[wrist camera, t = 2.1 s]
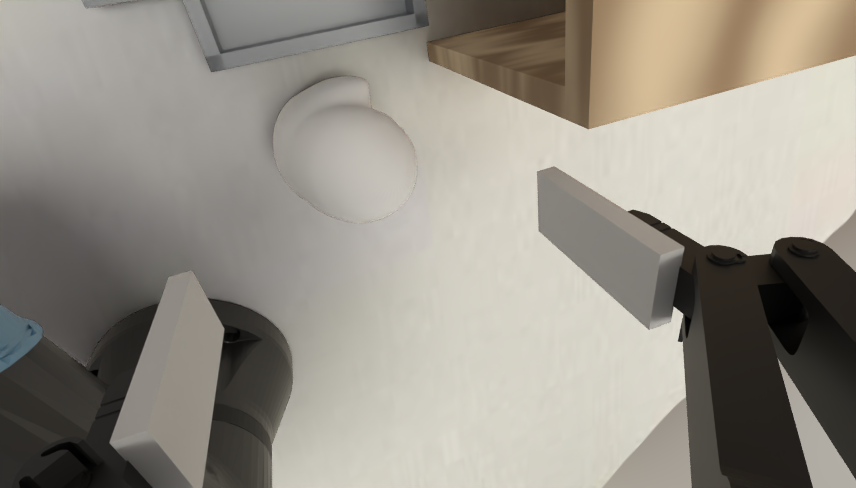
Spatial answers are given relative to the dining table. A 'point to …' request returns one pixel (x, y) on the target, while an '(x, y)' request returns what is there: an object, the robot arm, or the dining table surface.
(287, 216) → the dining table surface
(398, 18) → the tray
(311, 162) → the figurine
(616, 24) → the box
